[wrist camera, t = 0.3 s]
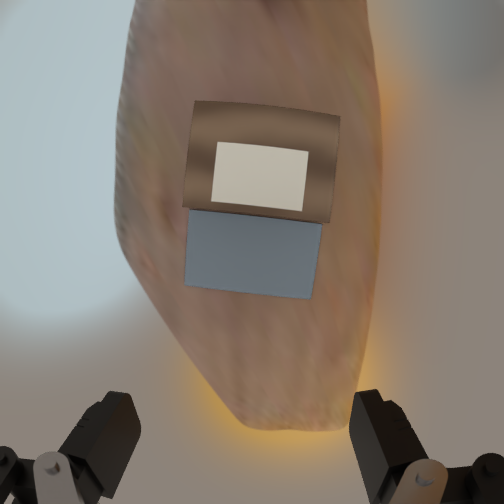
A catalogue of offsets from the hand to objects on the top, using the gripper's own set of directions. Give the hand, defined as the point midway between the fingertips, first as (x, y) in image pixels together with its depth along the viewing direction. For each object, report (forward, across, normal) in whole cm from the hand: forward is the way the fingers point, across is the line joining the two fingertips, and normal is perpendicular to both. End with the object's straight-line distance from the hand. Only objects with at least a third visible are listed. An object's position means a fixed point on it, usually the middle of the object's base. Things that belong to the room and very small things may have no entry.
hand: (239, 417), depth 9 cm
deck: (+28, -1, -10) cm, 30 cm away
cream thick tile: (+24, -1, -9) cm, 26 cm away
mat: (+28, 0, +1) cm, 28 cm away
